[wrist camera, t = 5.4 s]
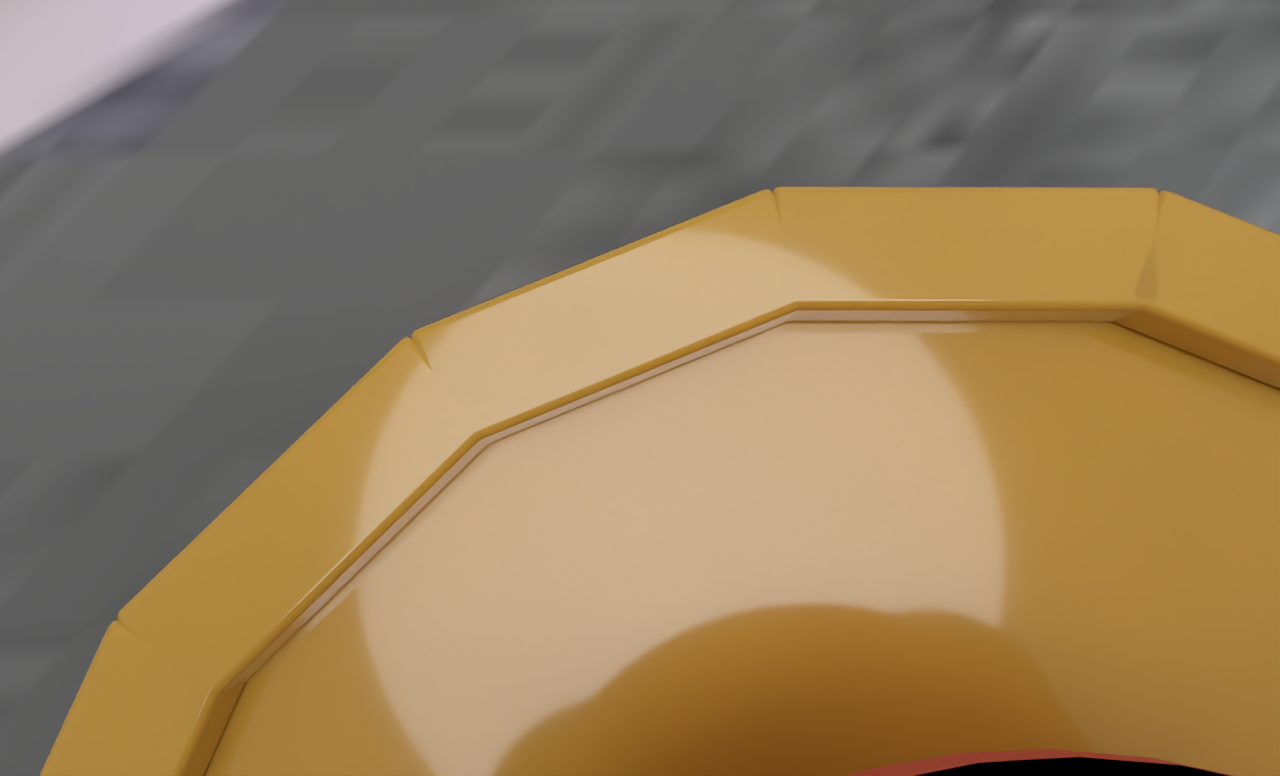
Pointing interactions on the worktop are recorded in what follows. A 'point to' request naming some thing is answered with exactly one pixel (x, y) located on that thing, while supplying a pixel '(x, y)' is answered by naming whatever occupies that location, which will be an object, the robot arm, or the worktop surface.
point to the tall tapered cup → (759, 513)
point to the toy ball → (1039, 765)
